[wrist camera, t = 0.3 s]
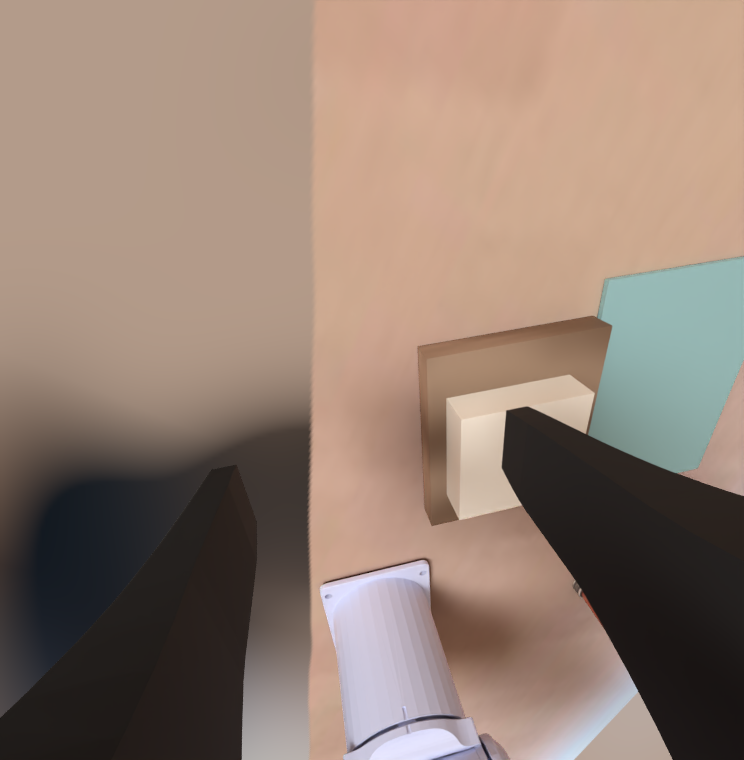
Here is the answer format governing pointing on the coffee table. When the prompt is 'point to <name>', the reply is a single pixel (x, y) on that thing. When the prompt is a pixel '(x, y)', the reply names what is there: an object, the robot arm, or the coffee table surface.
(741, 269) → the mat
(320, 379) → the coffee table surface
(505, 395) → the cream flat block
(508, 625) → the coffee table surface
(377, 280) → the coffee table surface
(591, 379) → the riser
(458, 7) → the coffee table surface
